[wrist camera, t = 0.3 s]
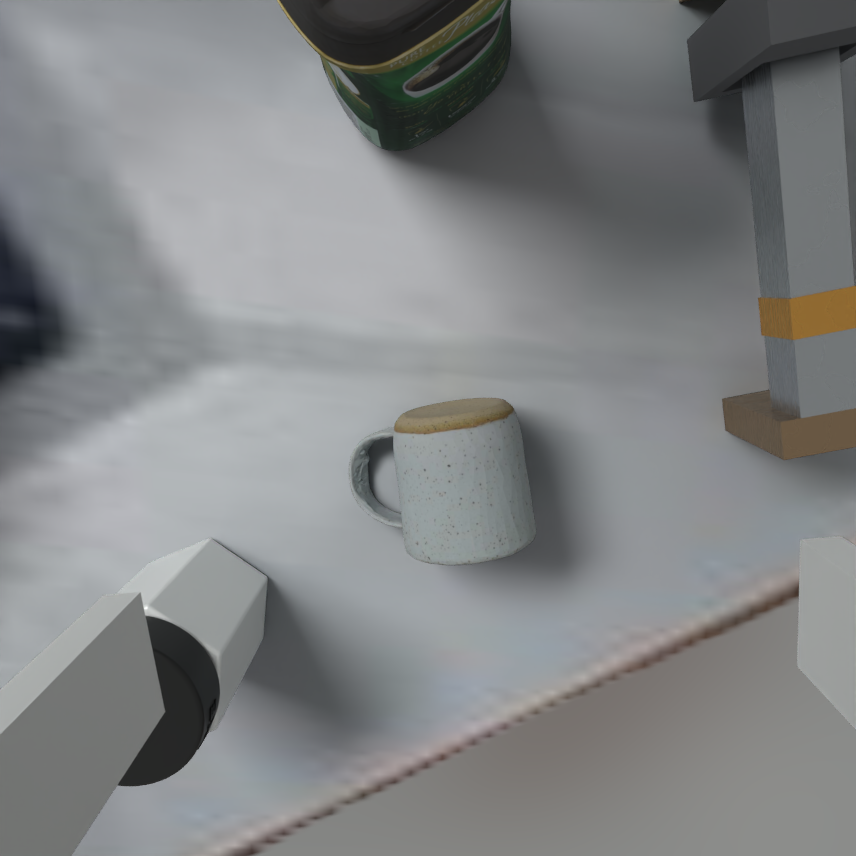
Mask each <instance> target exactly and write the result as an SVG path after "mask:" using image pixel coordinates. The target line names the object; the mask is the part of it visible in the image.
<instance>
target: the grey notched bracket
mask: <svg viewBox="0 0 856 856" xmlns="http://www.w3.org/2000/svg"><path fill="white" fill-rule="evenodd" d="M687 44H688V53H689V62H690V72H691V81H692V90H693V100H694V102H698V101H702V100H707V99H711V98H716V97H720V96H725V95H730V94H734V93H739V92H742V87H741V78H742V77H744V76H745V75H747V74H748V73H750V72H751V71H752V70H754V69H755V68H757V67H758V66H759V65H761V64H762V63H766V62H770V61H775V60H780V59H784V58H789V57H793V56H798V55H802V54H807V53H811V52H816V51H820V50H825V49H829V48H834V47H838V46H839V54H840V63H841V62H843V61H845V60H846V59H848V58H850V57H852V56H853V55H855V54H856V0H726V1H725V2H724V3H723V4H722V5H721V6H720V7H719V8H718V9H717V10H716V11H715V12H714V13H713V14H712V15H711V16H710V17H709V18H708V19H707V20H706V22H705V23H704V24H703V25H702V26H701V27H700V28H699V29H698V30H697V31H696V32H695V33H694V34H693V35H692V36H691V37H690V38H689V39H688V40H687Z"/></svg>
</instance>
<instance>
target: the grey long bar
mask: <svg viewBox="0 0 856 856" xmlns="http://www.w3.org/2000/svg"><path fill="white" fill-rule="evenodd" d="M686 1H690V0H679V3H681V2H686ZM741 87H742V98H743V109H744V119H745V130H746V141H747V152H748V162H749V173H750V184H751V195H752V205H753V216H754V227H755V238H756V248H757V259H758V270H759V281H760V291H761V298H758V300H759V311H760V322H761V332H762V335H763V336H765V345H766V356H767V366H768V377H769V388H770V390H766V391H761V392H756V393H750V394H745V395H740V396H734V397H729V398H724V399H722V401H723V411H724V420H725V429H726V431H728V432H730V433H732V434H734V435H736V436H738V437H740V438H742V439H744V440H746V441H748V442H749V443H751V444H753V445H755V446H757V447H759V448H761V449H763V450H765V451H767V452H769V453H771V454H773V455H775V456H777V457H779V458H781V459H783V460H787V459H792V458H798V457H803V456H809V455H814V454H820V453H825V452H831V451H836V450H842V449H847V448H853V447H856V286H854V273H853V257H852V241H851V226H850V210H849V194H848V179H847V163H846V148H845V132H844V116H843V101H842V85H841V69H840V54H839V46H838V47H834V48H829V49H825V50H820V51H816V52H811V53H807V54H802V55H798V56H793V57H789V58H784V59H780V60H775V61H770V62H766V63H762V64H761V65H759V66H758V67H757V68H755V69H754V70H752V71H751V72H750V73H748V74H747V75H745V76H744V77H742V78H741Z"/></svg>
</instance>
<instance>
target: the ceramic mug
mask: <svg viewBox="0 0 856 856" xmlns="http://www.w3.org/2000/svg"><path fill="white" fill-rule="evenodd" d="M389 437H393V451H394V459H395V467H396V472H397V478H398V487H399V498H400V509H401V514H400V513H397V512H394V511H392V510H389V509H387V508H385V507H384V506H383V505H382V504H380V503H379V502H378V501H377V500H376V499H375V497H374V496H373V494H372V491H371V489H370V486H369V476H368V462H369V460H370V458H369V455H368V450H369V448H370V446H371V445H372V444H373V443H374V442H375V441H376V440H378V439H382V438H389ZM349 480H350V486H351V490H352V493H353V495H354V498H355V499H356V501H357V503H358V504H359V505H360V507H361V508H362V509H363V510H364V511H365V512H366V513H367V514H368V515H370V516H371V517H373V518H374V519H376V520H378V521H380V522H382V523H384V524H387V525H390V526H393V527H398V528H403V538H404V544H405V548H406V551H407V553H408V554H409V555H410V556H412V557H413V558H415V559H417V560H420V561H423V562H426V563H430V564H440V565H467V564H476V563H482V562H486V561H491V560H497V559H500V558H504V557H507V556H510V555H513V554H515V553H517V552H519V551H520V550H522V549H523V548H525V547H526V546H528V545H529V544H530V543H531V542H532V541H533V540H534V538H535V535H536V525H535V518H534V512H533V506H532V498H531V492H530V486H529V479H528V474H527V468H526V462H525V455H524V447H523V439H522V434H521V428H520V425H519V422H518V419H517V416H516V412H515V410H514V408H513V407H512V406H511V405H510V404H509V403H508V402H506V401H505V400H503V399H499V398H474V399H462V400H455V401H448V402H442V403H437V404H432V405H427V406H423V407H419V408H416V409H412V410H410V411H407V412H405V413H403V414H402V415H401V416H400V417H399V418H398V420H397V421H396V423H395V426H394V427H390V428H387V429H384V430H381V431H378V432H375V433H373V434H371V435H369V436H367V437H366V438H364V439H363V440H362V441H361V442H360V443H359V444H358V445H357V447H356V448H355V449H354V451H353V453H352V455H351V459H350V464H349Z"/></svg>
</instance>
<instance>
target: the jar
mask: <svg viewBox="0 0 856 856" xmlns="http://www.w3.org/2000/svg"><path fill="white" fill-rule="evenodd" d="M267 581H268V578H267V576H266V575H264V574H263V573H261V572H260V571H258V570H257V569H255V568H254V567H252V566H251V565H249V564H248V563H246V562H245V561H244V560H242V559H241V558H239V557H238V556H236V555H235V554H233V553H232V552H230V551H229V550H227V549H226V548H224V547H223V546H222V545H220V544H219V543H217V542H216V541H214V540H213V539H211V538H208V539H205V540H203V541H200V542H198V543H196V544H193V545H191V546H188V547H186V548H184V549H181V550H179V551H176V552H174V553H171V554H169V555H166V556H164V557H162V558H159V559H157V560H154V561H152V562H150V563H149V564H147V565H146V566H145V567H144V568H143V569H142V570H141V571H140V572H139V573H138V574H137V575H136V576H135V577H134V578H133V579H131V580H130V581H129V582H128V583H127V584H126V585H125V586H124V587H123V588H122V589H121V590H120V591H119V592H118V593H116V594H123V593H135V592H141V597H142V602H143V607H144V611H145V616H146V621H147V626H148V631H149V636H150V641H151V645H152V650H153V655H154V660H155V665H156V670H157V674H158V679H159V684H160V689H161V694H162V699H163V704H164V708H165V713H164V714H163V716H162V717H161V719H160V720H159V722H158V724H157V725H156V727H155V728H154V730H153V731H152V733H151V734H150V736H149V737H148V739H147V740H146V742H145V744H144V745H143V747H142V748H141V750H140V751H139V753H138V754H137V756H136V757H135V759H134V760H133V762H132V763H131V765H130V767H129V768H128V770H127V771H126V773H125V774H124V776H123V777H122V779H121V780H120V782H119V783H118V785H119V786H141V785H147V784H152V783H155V782H158V781H161V780H163V779H166V778H168V777H170V776H172V775H173V774H175V773H176V772H178V771H179V770H180V769H182V768H183V767H184V766H185V765H186V764H187V763H188V762H189V761H190V759H191V758H192V757H193V756H194V754H195V752H196V751H197V750H198V749H199V747H200V746H201V744H202V742H203V741H204V739H205V737H206V736H207V734H208V733H209V732H211V731H214V730H216V729H217V727H218V726H219V724H220V722H221V720H222V718H223V716H224V714H225V712H226V710H227V708H228V706H229V704H230V702H231V700H232V698H233V696H234V694H235V692H236V691H237V689H238V687H239V685H240V683H241V681H242V679H243V677H244V675H245V673H246V671H247V669H248V667H249V665H250V663H251V661H252V659H253V658H254V656H255V654H256V652H257V650H258V648H259V646H260V644H261V642H262V640H263V637H264V622H265V608H266V594H267Z"/></svg>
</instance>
